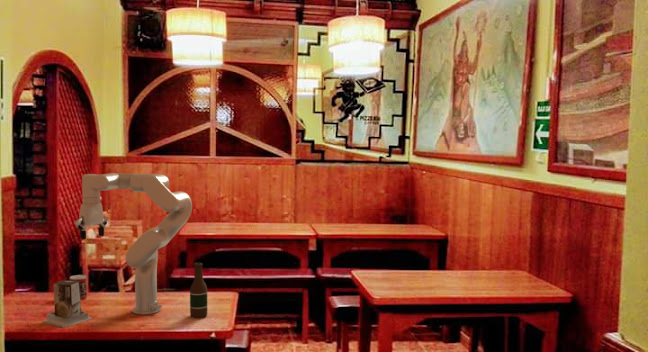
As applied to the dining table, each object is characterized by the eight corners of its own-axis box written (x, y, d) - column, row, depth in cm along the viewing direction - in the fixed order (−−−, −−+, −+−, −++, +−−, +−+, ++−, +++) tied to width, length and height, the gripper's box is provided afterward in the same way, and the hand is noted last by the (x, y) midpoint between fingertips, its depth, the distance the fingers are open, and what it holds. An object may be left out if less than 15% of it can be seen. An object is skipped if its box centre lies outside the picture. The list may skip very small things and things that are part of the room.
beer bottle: (211, 314, 262) (210, 262, 261) (202, 319, 255) (201, 265, 253) (196, 312, 265) (195, 260, 263) (186, 317, 258) (185, 264, 256)
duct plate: (91, 318, 255) (91, 311, 255) (63, 327, 244) (62, 320, 243) (71, 313, 263) (71, 306, 263) (42, 322, 251) (42, 314, 251)
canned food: (76, 301, 282) (76, 279, 281) (66, 299, 286) (65, 277, 285) (90, 298, 288) (89, 276, 288) (80, 295, 293) (79, 274, 292)
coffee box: (82, 317, 255) (81, 281, 254) (72, 321, 249) (71, 284, 248) (64, 315, 258) (63, 279, 256) (54, 320, 251) (53, 283, 250)
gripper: (102, 198, 277) (102, 234, 279) (69, 202, 263) (70, 239, 264) (112, 199, 274) (113, 235, 275) (80, 203, 259) (81, 241, 260)
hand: (92, 237), depth 269 cm, fingers open, 9 cm apart
